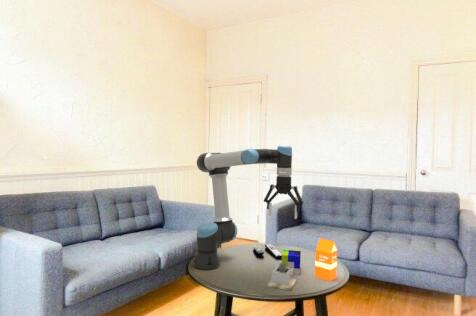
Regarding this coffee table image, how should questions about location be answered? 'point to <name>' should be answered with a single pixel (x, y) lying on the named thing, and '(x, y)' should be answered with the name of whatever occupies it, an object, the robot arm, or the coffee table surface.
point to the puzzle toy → (292, 260)
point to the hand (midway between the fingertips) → (282, 217)
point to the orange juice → (326, 260)
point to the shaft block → (282, 269)
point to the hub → (282, 276)
